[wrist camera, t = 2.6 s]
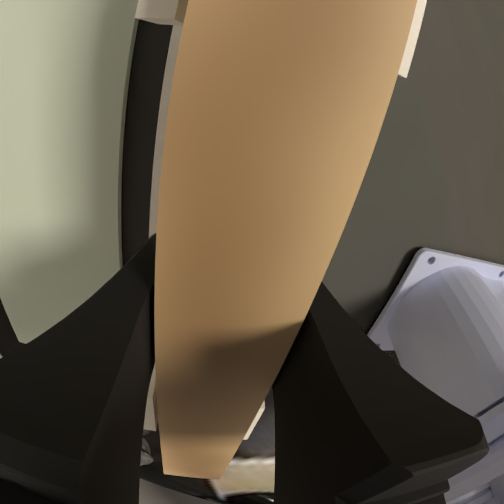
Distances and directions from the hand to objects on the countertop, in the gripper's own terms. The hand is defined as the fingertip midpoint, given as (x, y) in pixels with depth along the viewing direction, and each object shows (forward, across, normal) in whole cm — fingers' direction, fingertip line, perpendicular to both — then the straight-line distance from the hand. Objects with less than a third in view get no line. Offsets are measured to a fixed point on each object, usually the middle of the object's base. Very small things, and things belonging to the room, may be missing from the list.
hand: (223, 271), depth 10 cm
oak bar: (0, 0, 0) cm, 0 cm away
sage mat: (+5, +9, 0) cm, 10 cm away
